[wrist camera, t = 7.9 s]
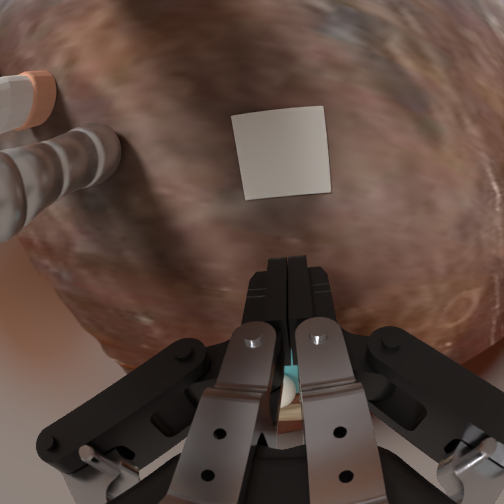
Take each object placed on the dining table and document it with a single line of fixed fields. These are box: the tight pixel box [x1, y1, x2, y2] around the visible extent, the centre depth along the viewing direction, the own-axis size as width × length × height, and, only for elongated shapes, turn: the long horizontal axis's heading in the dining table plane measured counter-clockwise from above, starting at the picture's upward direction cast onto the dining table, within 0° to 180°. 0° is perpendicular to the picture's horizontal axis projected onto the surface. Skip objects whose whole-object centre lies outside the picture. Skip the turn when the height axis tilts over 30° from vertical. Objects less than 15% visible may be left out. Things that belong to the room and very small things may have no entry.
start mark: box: [231, 106, 331, 200], centre depth 23 cm, size 8×8×1 cm
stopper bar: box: [278, 404, 302, 421], centre depth 42 cm, size 2×16×2 cm, turn 99°
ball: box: [280, 374, 296, 408], centre depth 36 cm, size 6×6×6 cm
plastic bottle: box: [0, 123, 121, 243], centre depth 15 cm, size 6×7×20 cm
